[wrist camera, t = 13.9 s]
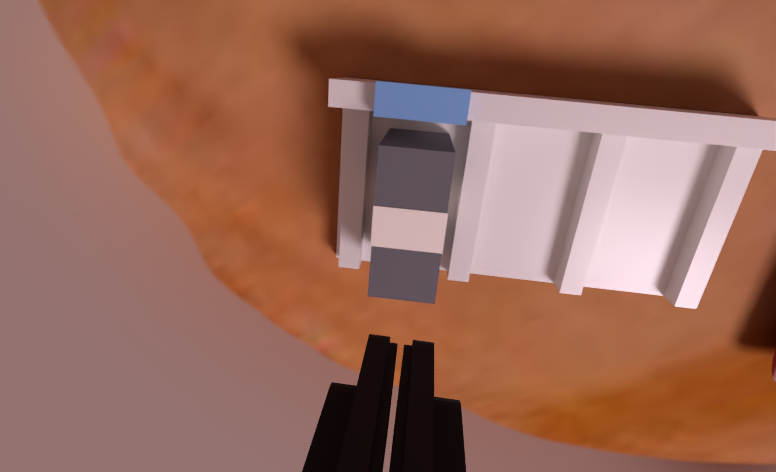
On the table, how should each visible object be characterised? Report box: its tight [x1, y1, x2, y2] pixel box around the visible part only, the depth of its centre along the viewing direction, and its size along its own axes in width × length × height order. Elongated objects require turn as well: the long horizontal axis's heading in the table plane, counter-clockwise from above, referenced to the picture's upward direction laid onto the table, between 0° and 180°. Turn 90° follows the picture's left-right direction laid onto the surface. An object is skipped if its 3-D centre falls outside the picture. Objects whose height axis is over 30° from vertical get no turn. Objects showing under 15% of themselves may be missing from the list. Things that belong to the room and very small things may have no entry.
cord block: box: [368, 128, 456, 304], centre depth 27 cm, size 9×4×7 cm, turn 175°
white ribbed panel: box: [328, 77, 776, 309], centre depth 27 cm, size 13×26×6 cm, turn 85°
